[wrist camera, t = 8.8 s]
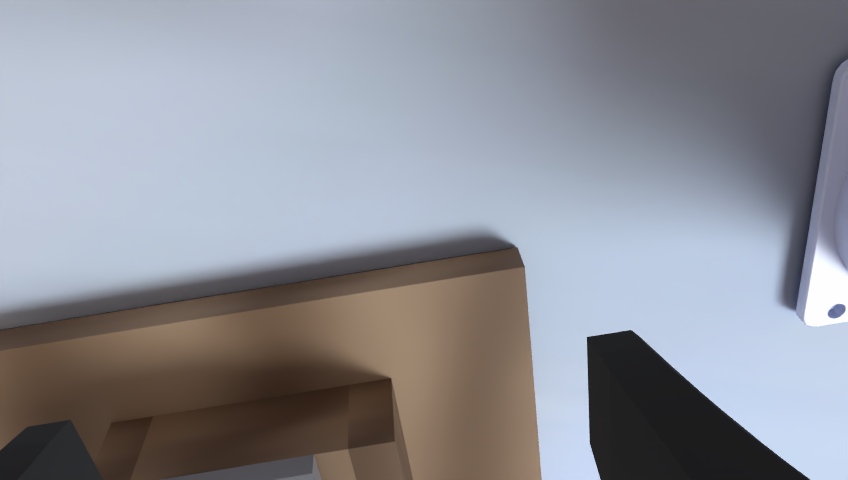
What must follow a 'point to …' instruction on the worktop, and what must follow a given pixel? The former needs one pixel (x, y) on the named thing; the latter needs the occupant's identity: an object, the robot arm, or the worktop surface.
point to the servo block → (264, 471)
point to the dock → (297, 377)
